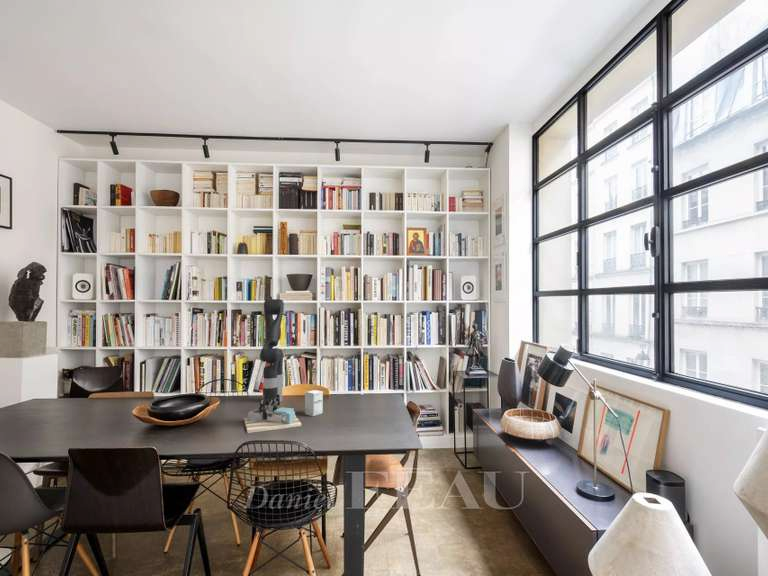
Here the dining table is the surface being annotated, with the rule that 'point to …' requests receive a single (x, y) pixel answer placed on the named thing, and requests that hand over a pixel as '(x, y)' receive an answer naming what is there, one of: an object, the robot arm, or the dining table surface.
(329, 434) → the dining table surface
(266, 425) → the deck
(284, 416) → the link
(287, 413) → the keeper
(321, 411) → the supplement box
